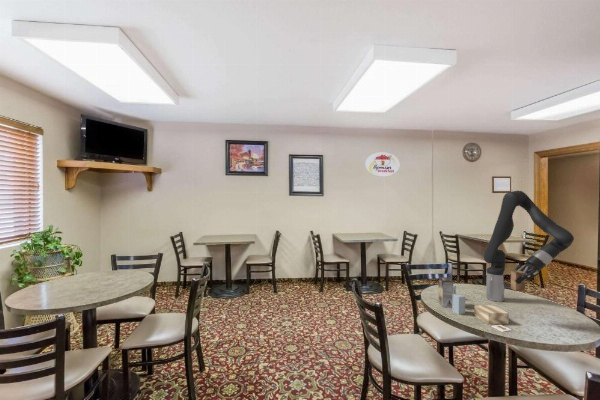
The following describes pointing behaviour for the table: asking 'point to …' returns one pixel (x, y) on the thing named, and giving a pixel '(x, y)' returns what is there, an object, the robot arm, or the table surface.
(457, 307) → the slate block
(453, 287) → the medicine box
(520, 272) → the walnut block
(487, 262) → the robot arm
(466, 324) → the table surface
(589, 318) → the table surface
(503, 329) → the tile
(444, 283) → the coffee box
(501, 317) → the birch block
